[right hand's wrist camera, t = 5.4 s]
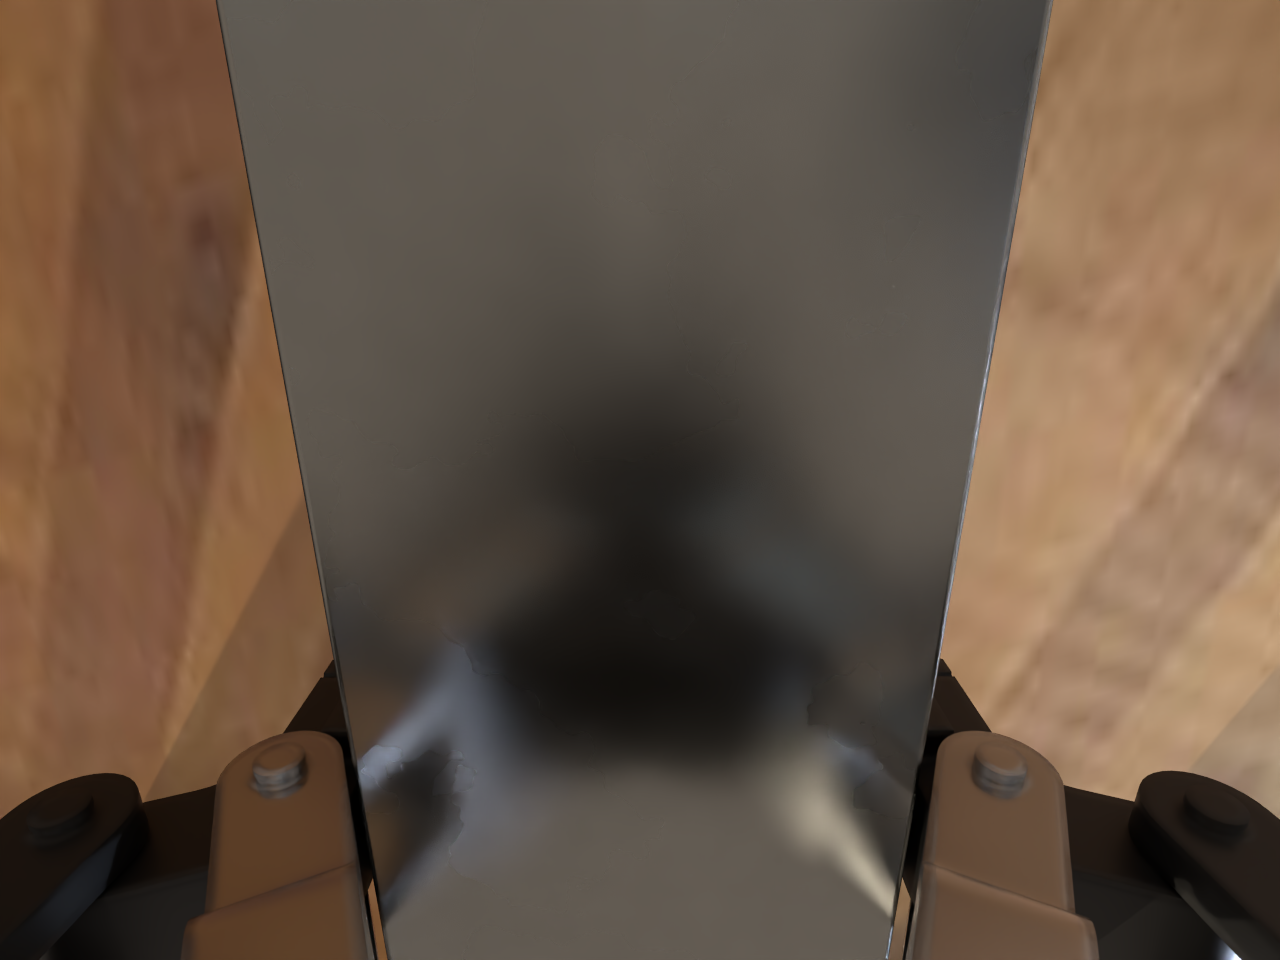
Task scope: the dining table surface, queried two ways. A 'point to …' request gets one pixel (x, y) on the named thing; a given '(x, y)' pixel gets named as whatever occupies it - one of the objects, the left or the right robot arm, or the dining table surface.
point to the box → (635, 439)
